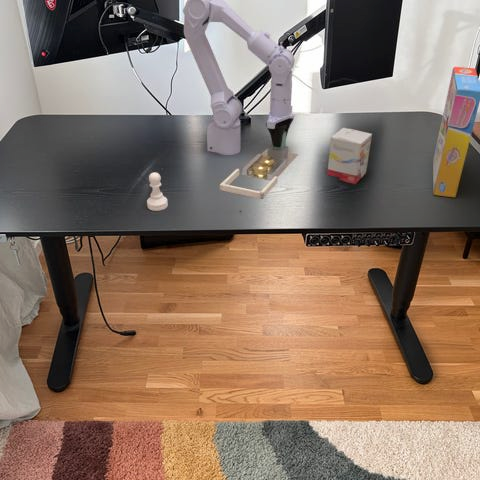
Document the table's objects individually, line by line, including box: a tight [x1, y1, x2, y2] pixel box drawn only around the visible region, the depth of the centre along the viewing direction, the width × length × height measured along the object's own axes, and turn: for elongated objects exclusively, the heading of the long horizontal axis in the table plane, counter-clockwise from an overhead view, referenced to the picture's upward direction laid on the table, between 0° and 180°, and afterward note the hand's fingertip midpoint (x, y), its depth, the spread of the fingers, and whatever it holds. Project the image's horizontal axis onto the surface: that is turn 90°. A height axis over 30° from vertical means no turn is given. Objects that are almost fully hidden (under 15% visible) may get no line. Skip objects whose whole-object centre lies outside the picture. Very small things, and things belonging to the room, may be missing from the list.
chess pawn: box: [146, 171, 169, 212], centre depth 125 cm, size 5×5×9 cm
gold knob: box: [260, 156, 274, 171], centre depth 143 cm, size 4×4×2 cm
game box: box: [432, 66, 480, 198], centre depth 132 cm, size 21×6×27 cm, turn 163°
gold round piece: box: [253, 163, 268, 177], centre depth 140 cm, size 4×4×2 cm
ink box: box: [326, 127, 373, 185], centre depth 139 cm, size 9×9×12 cm
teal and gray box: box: [267, 131, 289, 160], centre depth 148 cm, size 5×4×7 cm
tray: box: [219, 168, 279, 200], centre depth 134 cm, size 12×10×2 cm
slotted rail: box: [239, 148, 299, 182], centre depth 145 cm, size 10×19×3 cm, turn 155°
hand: (279, 144), depth 149 cm, fingers closed on teal and gray box, 3 cm apart
